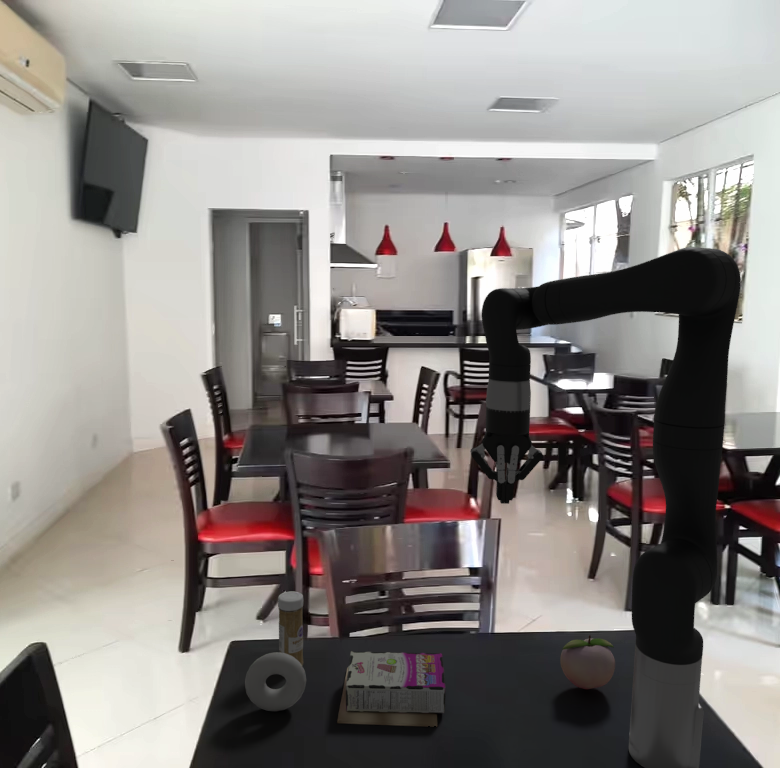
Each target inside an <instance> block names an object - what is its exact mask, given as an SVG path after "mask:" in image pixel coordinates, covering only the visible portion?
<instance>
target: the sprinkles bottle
mask: <svg viewBox="0 0 780 768" xmlns="http://www.w3.org/2000/svg"><path fill="white" fill-rule="evenodd" d="M277 606H278V650H279V653H286V654H288V655H291V656H293V657H294V658H295V659H297V660H298V661H299V662H300V663H301V665H302V666H303V665H304V656H303V651H304V650H303V649H304V635H303V634H304V633H303V632H304V628H303V608H304V607H303V606H304V595H303V594H302V593H301V592H298V591H285V592H282V593H280V594H279V595H278V597H277Z"/></svg>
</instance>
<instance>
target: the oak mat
mask: <svg viewBox="0 0 780 768" xmlns="http://www.w3.org/2000/svg"><path fill="white" fill-rule="evenodd" d="M348 667H349V666H348ZM348 667H346V674H345V678H344V682H343V683H344V684H343V687H342V688H343V689H342V695H341V700H340V705H339V710H338V716H337V720H336V721H337V722H336V723H337V724H349V725H350V724H351V725H373V726H375V725H379V726H401V727H402V726H404V727H428V726H430V727H429V728H437V727H438V713H407V712H406V713H400V712H353V711H352V712H351V711H346V682H347V675H348ZM434 726H436V727H434Z"/></svg>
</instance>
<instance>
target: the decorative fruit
mask: <svg viewBox="0 0 780 768" xmlns="http://www.w3.org/2000/svg"><path fill="white" fill-rule="evenodd" d="M610 647H611V648H614V645H613V644H612V643H611V642H610V641H608V640H606V639H603V638H591V634H590V635H588V638H586V639H584V640H583V639H572V640H571V641H569V642H566V644H564V646H563V647H562V648H561V649H562V651H561V654H560V667H561V669H562V672H563V674H564V675H565V677H566V679H567V680H568V681H569V682H570V683H571V684H573V685H574V686H575V687H578V688H580V689H584V690H590V689H597V688H601V687H603V686H605V685H607V684H608V683H609V682H610V681H611V679H612V677H613V676H614V672H615V669H616V660H615V657H614V654H613V653H612V651H611V649H610Z"/></svg>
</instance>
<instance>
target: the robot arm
mask: <svg viewBox="0 0 780 768" xmlns="http://www.w3.org/2000/svg"><path fill="white" fill-rule="evenodd" d="M741 282H742V280H741V272H740V269H739V267H738V264H737V262H736V261H735V259H734V258H733V257H732V256H731V255H730V254H729V253H727V252H726V251H723V250H721V249H718V248H711V247H699V246H691V247H690V246H689V247H683V248H680V249H677V250H674V251H671V252H669V253H666V254H664V255H660V256H658V257H655V258H652V259H650V260H646V261H645V262H642V263H639V264H636V265H632V266H630V267H626V268H621V269H617V270H614V271H608V272H602V273H595V274H587V275H581V276H580V275H579V276H573V277H572V276H571V277H567V278H566V277H565V278H560V279H556V280H551V281H547V282H544V283H541V284H539V286H533V287H523V288H521V287H519V288H517V287H516V288H515V287H514V288H511V287H510V288H509V287H508V288H506V287H505V288H504V287H503V288H502V287H501V288H496V289H493V290H491V291H490V292H488V294H487V295H486V296H485V299H484V301H483V303H482V308H481V322H482V328H483V329H482V330H483V333H484V338H485V343H486V346H487V349H488V355H489V359H488V383H487V388H486V398H485V404H486V405H485V406H486V407H485V429H484V432H485V433H484V436H483V438H482V441H481V443H480V444H479V445H478V446H476V447H472V448H471V449H470V455H471V457H472V459H473V460H474V461H475V463H476V464H477V465H478V466H479V468H480V469H481V470H482V471H483V473H484V475H485V476H486V477H487V478H488V479H489V480H493V481H495V482H496V489H495V491H496V492H495V494H496V495H495V496H496V498H497V501H499V502H500V504H503V505H504V504H505V505H506V504H507V505H508V504H510V501H513V500H514V488H515V483H516V482H518V481H525V479H526V478H527V476H529V474H530V473H531V472H532V471H533V470H534V468H535V467H536V466H538V464H539V463H540V462H541V461H542V459H543V458H544V454H543V453H542V451H541V450H540V449H537V448H536V447H535V446H534V445H533V442H532V440H531V437H530V427H531V426H530V423H531V402H532V401H531V397H532V391H531V390H532V389H531V367H532V366H531V365H532V363H531V361H532V359H531V357H532V355H531V349H530V348H528V347H527V346H525V345H524V344H520V343H519V337H518V333H517V330H518V331H519V330H527V329H529V330H530V329H534V328H540V327H544V326H548V325H555V326H556V325H565V324H574V323H580V322H587V321H591V320H592V321H593V320H595V319H596V320H598V319H601V318H604V317H609V316H611V315H617V314H625V313H641V312H642V313H645V312H646V313H658V314H659V313H663V314H665V313H666V314H675V315H678V327H677V328H678V331H677V334H678V335H677V342H676V343H677V344H676V348H675V353H674V356H673V359H672V361H671V364H670V366H669V370H668V372H667V373H666V377H665V379H664V381H663V383H662V386H661V389H660V392H659V394H658V396H657V397H658V398H657V401H656V403H655V411H654V417H653V419H654V420H653V431H652V432H653V434H652V454H653V457H652V458H653V460H654V465H655V468H656V471H657V475H658V477H659V480H660V483H661V486H662V489H663V493H664V499H665V514H664V524H663V525H664V526H663V531H662V537H661V542H660V544H658V545H655V546H654V547H651V548H650V549H648V550H646V551H645V552H643V553H642V554H641V555H639V557H638V558H637V560H636V562H635V565H634V568H633V575H632V580H631V581H632V582H631V583H632V584H631V624H632V628H633V631H634V633H635V647H634V658H633V659H634V660H633V661H634V662H633V674H632V675H633V677H632V689H631V690H632V691H631V707H630V722H629V734H628V751H629V755H630V756H631V758H632V759H633V760H634V761H635V763H637V764H639V765H640V766H641V767H643V768H700V760H701V748H702V747H701V746H702V737H703V736H702V735H703V734H702V733H703V723H704V708H703V706H702V704H700V702H699V701H700V689H701V677H702V676H701V675H702V663H703V655H704V638H703V636H702V634H701V632H700V631H699V630H698V629H697V628H695V613H696V612H695V611H696V610H695V609H696V603H698V602H700V601H701V600H703V599H704V598H705V597H706V596H707V595H709V594H710V592H712V590H713V588H714V586H715V584H716V581H717V576H718V548H717V546H718V545H717V505H718V504H717V503H718V495H719V486H720V475H721V474H720V473H721V463H722V455H723V449H724V448H723V447H724V436H725V435H724V434H725V433H724V432H725V423H726V422H725V421H726V402H727V399H726V398H727V387H728V373H729V370H728V369H729V355H730V345H731V339H732V333H733V330H734V329H733V328H734V323H735V319H736V313H737V309H738V303H739V299H740V292H741V287H742V286H741V284H742V283H741ZM485 451H486V453H488V455H489V456H490V458H491V460H492V461H494V462H495V468H496V469H495V470H496V471H495V470H493V469H492V467H491V466H490V465H489V464H488V462H487V461H486V460H485V457H486V454H485ZM526 454H527V459H526V460H525V461H524V462H523V463H522V465H521V466H520V467H519V468H518V463H519V462H521V460H522V459H523V458H524V456H526ZM505 464H506V465H505ZM517 468H518V469H517ZM505 470H506V471H505ZM505 473H506V474H505Z"/></svg>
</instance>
